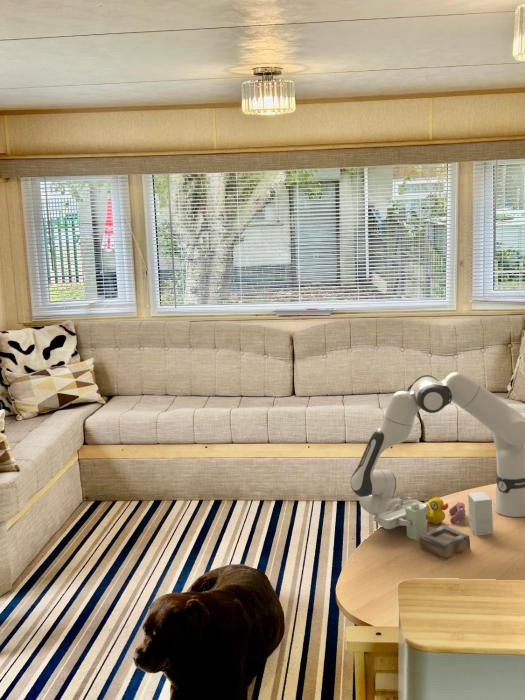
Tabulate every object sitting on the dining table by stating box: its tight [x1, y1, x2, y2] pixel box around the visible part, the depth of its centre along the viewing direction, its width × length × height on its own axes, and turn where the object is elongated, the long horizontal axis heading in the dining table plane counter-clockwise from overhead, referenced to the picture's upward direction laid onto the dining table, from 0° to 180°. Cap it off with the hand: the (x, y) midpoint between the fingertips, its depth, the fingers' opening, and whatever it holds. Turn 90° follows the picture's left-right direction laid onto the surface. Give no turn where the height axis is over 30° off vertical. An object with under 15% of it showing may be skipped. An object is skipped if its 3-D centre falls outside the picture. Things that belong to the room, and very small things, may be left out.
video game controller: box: [448, 501, 467, 524], centre depth 288 cm, size 10×5×7 cm, turn 169°
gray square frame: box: [419, 524, 471, 561], centre depth 264 cm, size 12×12×5 cm
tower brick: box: [405, 503, 428, 541], centre depth 276 cm, size 5×5×12 cm
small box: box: [467, 491, 494, 536], centre depth 275 cm, size 8×6×13 cm
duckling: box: [425, 496, 449, 525], centre depth 286 cm, size 11×5×10 cm, turn 44°
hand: (417, 521), depth 275 cm, fingers closed on tower brick, 5 cm apart
